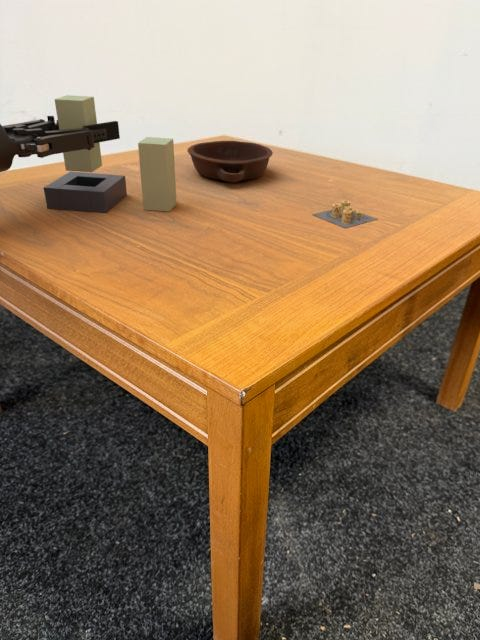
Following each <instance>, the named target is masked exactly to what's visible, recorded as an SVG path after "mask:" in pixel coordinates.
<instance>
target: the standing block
mask: <svg viewBox="0 0 480 640" xmlns="http://www.w3.org/2000/svg"><path fill="white" fill-rule="evenodd" d="M174 145H175V144H174V138H169V137H168V138H167V137H152V136H146V137H144V138H143V139H141V140H140V141H139V142H137V147H138V158H139V160H138V161H139V170H140V171H139V172H140V183H141V194H142V196H141V197H142V206H143V207H142V208H143V211H155V212H167V213H170V212H171V211H172V209H173V208H174V207H175V206H176V205H177V203H178V202H177V186H176V185H177V184H176V166H175V164H176V163H175V146H174Z"/></svg>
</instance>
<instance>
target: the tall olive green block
mask: <svg viewBox="0 0 480 640" xmlns="http://www.w3.org/2000/svg"><path fill="white" fill-rule="evenodd" d="M54 105H55V110H56V117H57V120H58V124H59V130H67V129H79V128H83V126H86V125H93V124H98V120H97V113H96V112H97V111H96V104H95V97H94V96H87V95H69V94H67V95H66V94H65V95H64V96H61V97H57V98H54ZM100 143H101V142H99V143H94V148H91V150H87V149H82V150H76V151H70V152H64V153H62V155H63V161H64V168H65V171H67V172H83V173H93V172H95V171H96V170H98V169H99V168H101V167H103V159H102V152H101V144H100Z"/></svg>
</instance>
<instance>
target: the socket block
mask: <svg viewBox="0 0 480 640" xmlns="http://www.w3.org/2000/svg"><path fill="white" fill-rule="evenodd" d="M43 192H44V198H45V204H46V208H47V209H50V210H51V209H52V210H67V211H78V212H79V211H80V212H92V213H106V214H107V213H108V212H109V211H111V210H112V208H114V207H115V206H116V205H117V204H118V203H120V201H122V200H123V199H124V198H125V197H126V196H127V195H128V193H127V192H128V191H127V181H126V175H124V174H110V173H109V174H107V173H96V172H95V173H93V172H80V171H67V172H66V173H65V174H63V175H62V176H60V177H58V178H57V179H56V180H54V181H52V182H49V184H47V185H45V186H44V187H43Z"/></svg>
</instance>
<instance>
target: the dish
mask: <svg viewBox="0 0 480 640" xmlns="http://www.w3.org/2000/svg"><path fill="white" fill-rule="evenodd" d="M186 151H187V153H188V155H190V157H191V161H192V164H193V167H194V168H195V171H196V172H197V173H198V174H199V175H201V176H204V177H207V178H210V179H215V180H220V181H224V182H229V183H238V182H239V183H240V181H247V180H252V179H256V178H259V177H261V176H262V175H263V174H264V173H265V172H266V170H267V168H268V165H269V161H270V158H271V157H272V156H273V154H274V152H273V151H272V149H271V148H269V147H267V146H265V145H262V144H260V143H255V142H249V141H239V140H215V141H206V142H200V143H199V142H198V143H195V144H192V145H191V146H189V147H187V150H186Z"/></svg>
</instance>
